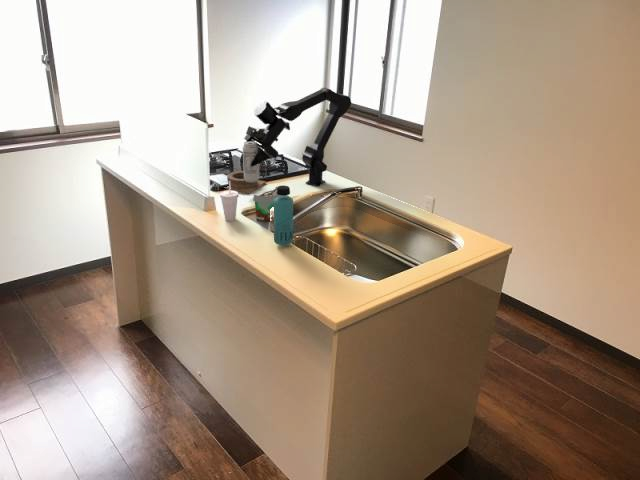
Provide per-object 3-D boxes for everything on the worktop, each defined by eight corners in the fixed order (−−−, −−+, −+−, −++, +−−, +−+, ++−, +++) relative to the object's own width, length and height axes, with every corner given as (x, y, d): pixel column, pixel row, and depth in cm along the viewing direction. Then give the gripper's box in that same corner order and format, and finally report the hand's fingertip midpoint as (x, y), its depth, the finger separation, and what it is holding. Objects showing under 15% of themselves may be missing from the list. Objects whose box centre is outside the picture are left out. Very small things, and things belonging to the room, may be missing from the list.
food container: (266, 226, 184) (266, 199, 180) (253, 221, 187) (252, 195, 183) (289, 215, 193) (289, 190, 189) (276, 211, 196) (276, 186, 192)
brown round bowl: (237, 178, 228) (236, 168, 226) (265, 183, 223) (265, 173, 221) (218, 188, 216) (218, 177, 214) (248, 194, 211) (248, 183, 209)
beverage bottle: (278, 251, 167) (277, 191, 158) (270, 242, 172) (269, 184, 164) (296, 247, 170) (297, 189, 161) (288, 239, 175) (288, 182, 167)
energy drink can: (261, 178, 210) (260, 141, 203) (256, 183, 205) (255, 145, 198) (247, 177, 211) (245, 140, 205) (241, 182, 206) (240, 144, 199)
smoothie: (242, 217, 190) (241, 180, 184) (232, 223, 185) (231, 185, 179) (227, 214, 193) (226, 177, 187) (217, 220, 188) (215, 182, 181)
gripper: (247, 113, 206) (223, 145, 206) (270, 123, 192) (244, 157, 192) (266, 131, 214) (242, 161, 213) (289, 142, 200) (264, 174, 199)
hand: (247, 163), depth 204 cm, fingers closed on energy drink can, 6 cm apart
